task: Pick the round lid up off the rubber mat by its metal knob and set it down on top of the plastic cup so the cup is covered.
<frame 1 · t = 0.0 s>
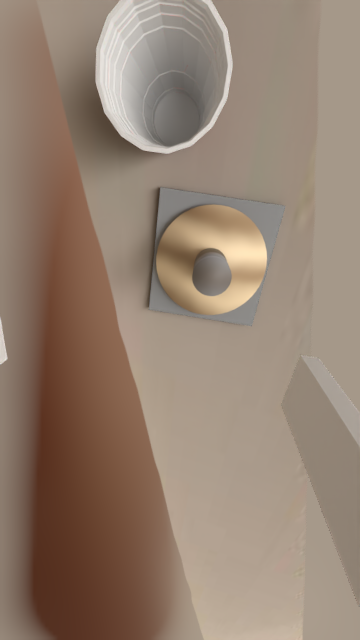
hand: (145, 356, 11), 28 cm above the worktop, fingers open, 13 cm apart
lid: (210, 263, 36), point 1 cm above the worktop, touching mat
mat: (210, 261, 37), on the worktop
plastic cup: (176, 119, 31), on the worktop
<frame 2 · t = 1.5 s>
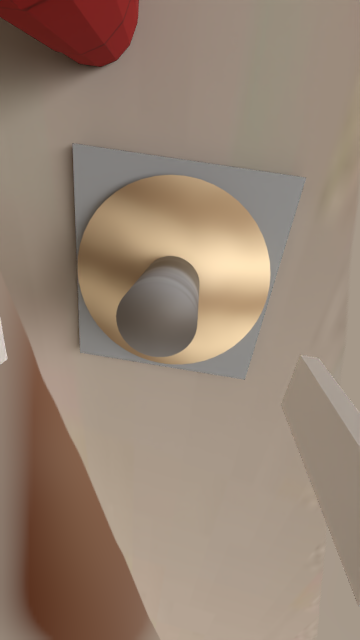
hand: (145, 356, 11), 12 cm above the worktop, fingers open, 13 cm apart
lid: (172, 280, 21), point 1 cm above the worktop, touching mat
mat: (174, 277, 22), on the worktop
plastic cup: (92, 1, 16), on the worktop
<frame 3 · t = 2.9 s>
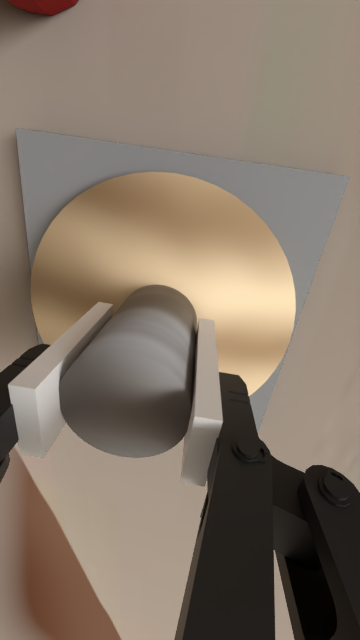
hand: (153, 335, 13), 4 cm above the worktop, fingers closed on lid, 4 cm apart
lid: (161, 315, 16), point 1 cm above the worktop, touching gripper, mat
mat: (163, 309, 17), on the worktop
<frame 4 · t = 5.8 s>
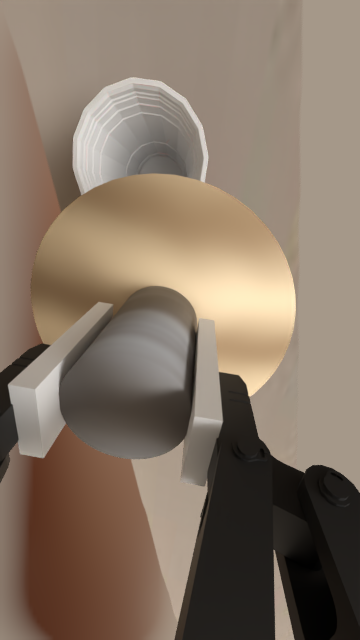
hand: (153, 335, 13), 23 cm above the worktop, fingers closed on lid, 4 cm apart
lid: (161, 316, 16), point 20 cm above the worktop, touching gripper
plastic cup: (161, 180, 31), on the worktop
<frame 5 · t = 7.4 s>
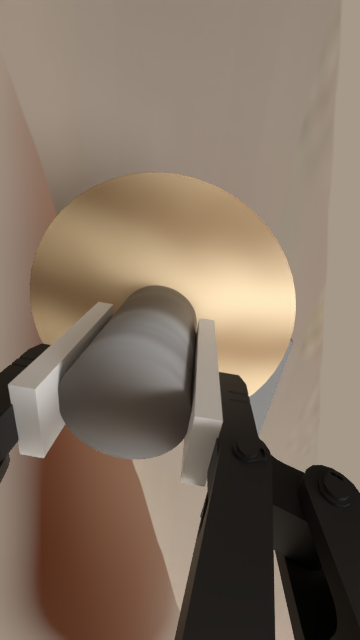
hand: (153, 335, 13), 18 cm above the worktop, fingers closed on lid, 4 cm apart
lid: (161, 315, 16), point 16 cm above the worktop, touching gripper
mat: (215, 381, 36), on the worktop
when the fingers open (16 cm above the worktop, at t = 8.5 s): lid drops 1 cm, resting on plastic cup.
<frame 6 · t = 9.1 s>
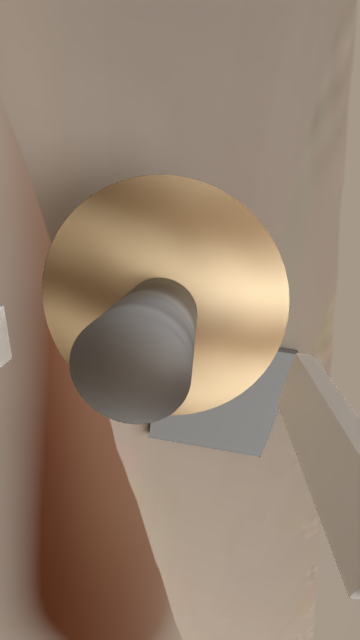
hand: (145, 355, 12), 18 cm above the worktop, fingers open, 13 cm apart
lid: (163, 308, 17), point 12 cm above the worktop, touching plastic cup
mat: (215, 395, 34), on the worktop
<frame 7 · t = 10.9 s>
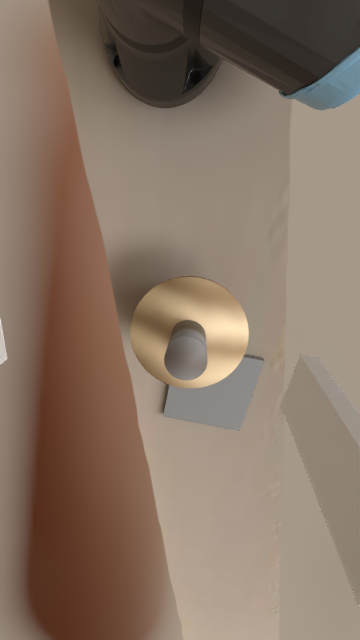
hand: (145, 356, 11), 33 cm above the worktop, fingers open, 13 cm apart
lid: (188, 333, 34), point 12 cm above the worktop, touching plastic cup
mat: (210, 387, 51), on the worktop
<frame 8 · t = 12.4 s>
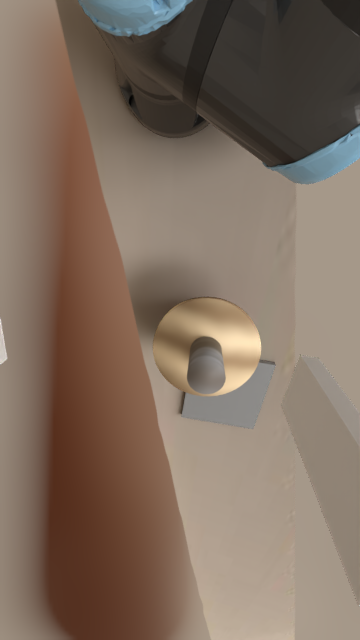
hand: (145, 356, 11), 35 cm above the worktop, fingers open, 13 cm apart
lid: (205, 347, 37), point 12 cm above the worktop, touching plastic cup
mat: (224, 389, 54), on the worktop
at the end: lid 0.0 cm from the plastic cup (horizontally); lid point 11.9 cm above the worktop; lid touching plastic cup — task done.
